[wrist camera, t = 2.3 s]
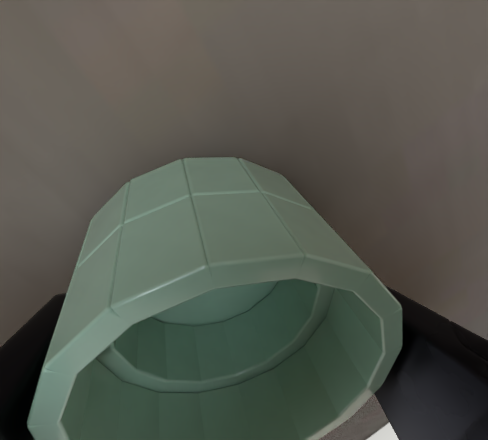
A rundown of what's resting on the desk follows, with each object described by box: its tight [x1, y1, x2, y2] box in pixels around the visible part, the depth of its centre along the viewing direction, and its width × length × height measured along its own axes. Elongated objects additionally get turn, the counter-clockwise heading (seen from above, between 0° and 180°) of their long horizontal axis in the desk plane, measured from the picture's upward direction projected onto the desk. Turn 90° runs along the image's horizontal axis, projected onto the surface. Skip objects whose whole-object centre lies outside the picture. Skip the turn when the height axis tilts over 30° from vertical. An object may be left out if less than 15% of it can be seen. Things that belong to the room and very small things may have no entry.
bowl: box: [27, 157, 403, 440], centre depth 8 cm, size 7×7×5 cm
